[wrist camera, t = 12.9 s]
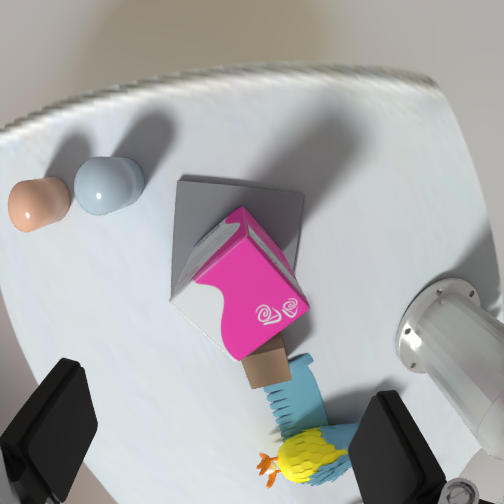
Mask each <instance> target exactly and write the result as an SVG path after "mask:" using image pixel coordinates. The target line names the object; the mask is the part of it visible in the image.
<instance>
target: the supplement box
mask: <svg viewBox="0 0 504 504" xmlns="http://www.w3.org/2000/svg"><path fill="white" fill-rule="evenodd" d="M169 302H170V303H171V304H172V305H173V306H174V307H175V308H176V309H177V310H178V311H179V312H180V313H181V314H183V315H184V316H185V317H186V318H187V319H188V320H189V321H190V322H191V323H192V324H193V325H194V326H196V327H197V328H198V329H199V330H200V331H201V332H202V333H203V334H204V335H206V336H207V337H208V338H209V339H210V340H211V341H212V342H213V343H214V344H215V345H216V346H217V347H218V348H220V349H221V350H222V351H223V352H224V353H225V354H226V355H227V356H228V357H230V358H231V359H232V360H233V361H234V362H236V363H237V362H239V361H240V360H241V359H243V358H245V357H246V356H247V355H249V354H250V353H251V352H253V351H254V350H256V349H257V348H258V347H260V346H261V345H262V344H264V343H265V342H267V341H268V340H269V339H271V338H272V337H273V336H275V335H276V334H277V333H279V332H280V331H281V330H283V329H284V328H285V327H287V326H288V325H289V324H291V323H292V322H293V321H295V320H296V319H297V318H298V317H300V316H301V315H302V314H304V313H305V312H306V311H307V310H309V309H310V307H309V304H308V302H307V300H306V298H305V296H304V294H303V292H302V290H301V288H300V286H299V284H298V282H297V280H296V278H295V276H294V274H293V272H292V270H291V268H290V266H289V264H288V262H287V260H286V258H285V256H284V254H283V252H282V250H281V249H280V248H279V247H278V246H277V244H276V243H275V242H274V241H273V240H272V239H271V237H270V236H269V235H268V234H267V233H266V231H265V230H264V229H263V228H262V227H261V226H260V224H259V223H258V222H257V221H256V220H255V219H254V218H253V216H252V215H251V214H250V213H249V212H248V211H247V210H246V209H245V207H244V206H240V207H238V208H237V209H235V210H234V211H233V212H232V213H230V214H229V215H228V216H227V217H226V218H225V219H223V220H222V221H221V222H220V223H219V224H218V225H217V226H215V227H214V228H213V229H212V230H211V231H210V232H209V233H207V234H206V235H205V236H204V237H203V238H202V239H201V240H200V241H199V242H198V243H197V244H196V245H194V248H193V250H192V253H191V255H190V257H189V259H188V261H187V263H186V265H185V268H184V270H183V272H182V274H181V276H180V278H179V280H178V283H177V285H176V287H175V289H174V291H173V293H172V296H171V298H170V300H169Z"/></svg>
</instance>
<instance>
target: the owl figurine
mask: <svg viewBox="0 0 504 504" xmlns="http://www.w3.org/2000/svg"><path fill="white" fill-rule="evenodd" d="M313 361H314V360H313V358H312V357H311V355H310V354H309V353H306V354H304V355H302V356H300V357H299V358H297V359H295V360H288V363H289V367H290V372H291V376H292V380H290V381H286V382H282V383H278V384H273V385H269V386H265V387H264V392H266V393H270V392H274V391H277V392H274V393H272V394H270V395H268V396H267V400H268V401H270V402H272V401H276V400H278V401H276V402H273V403H272V404H271V405H270V408H271V409H278V410H276V411H274V412H273V416H275V417H280V416H282V417H280V418H278V419H277V420H276V423H277V424H282V425H280V426H279V427H278V429H279V430H280V431H284V430H287V431H284V432H282V433H281V437H287V438H285V439H284V440H283V442H284V444H283V445H282V446H281V447H280V448H279V450H278V452H277V457H274V458H269V456H268V455H266V454H263V453H259V454H260V456H261V457H262V460H261V463H260V464H259V465H258V466H257V468H256V469H260V468H262V470H261V472H260V473H259V476H260V475H263V474H264V473H267V474H269V480H268V482H267V485H266V487H268V489H269V488H270V487H271V486H272V485H273V483H274V481H275V478H276V474H277V473H278V472H282V473H283V474H284V476H285V477H286V478H287V479H289V480H291V481H294V482H296V483H301V484H306V483H307V484H311V483H312V484H311V486H314V485H316V484H317V485H320V484H322V483H324V482H326V481H327V480H328V481H330V480H332V479H333V480H332V481H331V482H333V481H335V480H336V479H337V478H338V477H339V476H340V475H341V474H342V473H343V472H344V471H346V470H347V469H348V468H349V467H352V465H351V461H350V458H349V455H348V447H349V444H350V442H351V440H352V439H353V437H354V435H355V433H356V431H357V429H358V427H359V424H360V423H353V424H339V425H333V426H329V425H328V421H327V417H326V412H325V408H324V403H323V399H322V397H321V394H320V391H319V388H318V385H317V382H316V380H315V378H314V376H313V374H312V372H311V371H310V369H309V368H308V365H309V364H311V363H312V362H313ZM278 390H279V391H278ZM280 399H281V400H280ZM282 407H284V408H282ZM279 408H281V409H279ZM287 414H288V415H287ZM283 415H285V416H283ZM363 416H364V415H363ZM284 423H285V424H284ZM288 429H289V430H288ZM275 460H277V463H278V466H279V469H280V470H276V464H275V463H274V462H272V461H275ZM344 474H345V473H344ZM344 474H343V475H344ZM343 475H342V476H343ZM342 476H341V477H342ZM313 482H314V483H313ZM317 485H316V486H317Z"/></svg>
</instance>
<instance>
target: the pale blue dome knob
mask: <svg viewBox="0 0 504 504" xmlns="http://www.w3.org/2000/svg"><path fill="white" fill-rule="evenodd" d="M143 188H144V175H143V172H142V169H141V168H140V166H139V165H138V164H137V163H136V162H135V161H133V160H132V159H129V158H124V157H94V158H91V159H89V160H87V161H86V162H85V163H84V164H83V165H82V166H81V167H80V168H79V170H78V172H77V174H76V177H75V181H74V192H75V197H76V199H77V201H78V203H79V205H80V206H81V207H82V209H84V210H85V211H86V212H88V213H89V214H92V215H96V216H101V215H106V214H109V213H111V212H114V211H116V210H119V209H121V208H124V207H126V206H129V205H131V204H133V203H134V202H136V201H137V200H138V198H139V197H140V196H141V194H142V191H143Z"/></svg>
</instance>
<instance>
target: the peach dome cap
mask: <svg viewBox="0 0 504 504" xmlns="http://www.w3.org/2000/svg"><path fill="white" fill-rule="evenodd" d="M69 207H70V193H69V190H68V187H67V186H66V184H65V183H64V182H63V181H62V180H61V179H59V178H57V177H49V178H41V179H34V180H27V181H21V182H19V183H17V184H16V185H15V186H14V187H13V188H12V190H11V192H10V195H9V199H8V212H9V216H10V219H11V221H12V223H13V225H14V226H15V227H16V228H17V229H18V230H20V231H22V232H31V231H33V230H36V229H39V228H41V227H44V226H46V225H49V224H52V223H54V222H57V221H60V220H61V219H63V218H64V217H65V216H66V214H67V212H68V210H69Z"/></svg>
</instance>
